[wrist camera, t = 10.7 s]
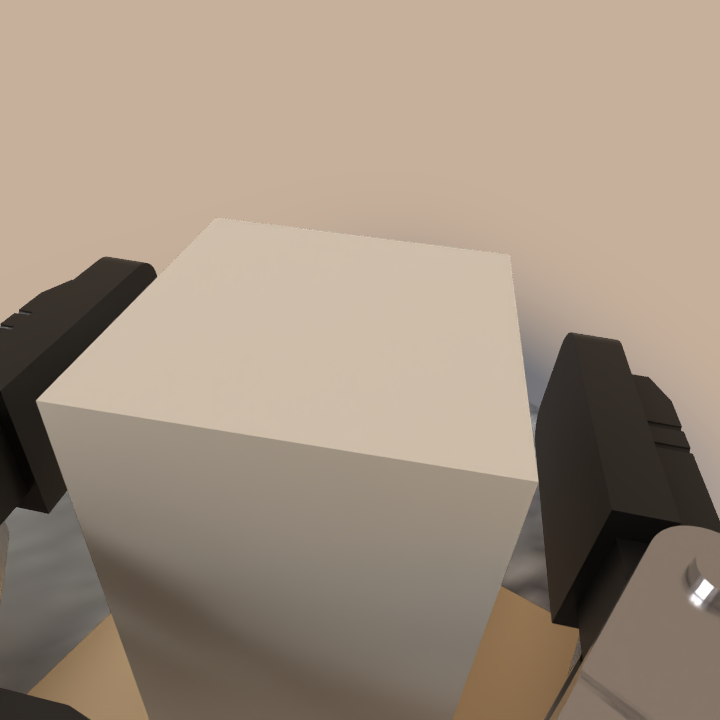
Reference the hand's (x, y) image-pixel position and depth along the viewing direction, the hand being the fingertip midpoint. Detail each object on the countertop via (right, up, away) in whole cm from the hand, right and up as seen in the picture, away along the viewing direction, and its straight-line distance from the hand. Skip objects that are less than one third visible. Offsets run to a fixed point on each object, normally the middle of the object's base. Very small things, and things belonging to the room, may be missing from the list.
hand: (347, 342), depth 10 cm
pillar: (-1, -8, +3) cm, 8 cm away
